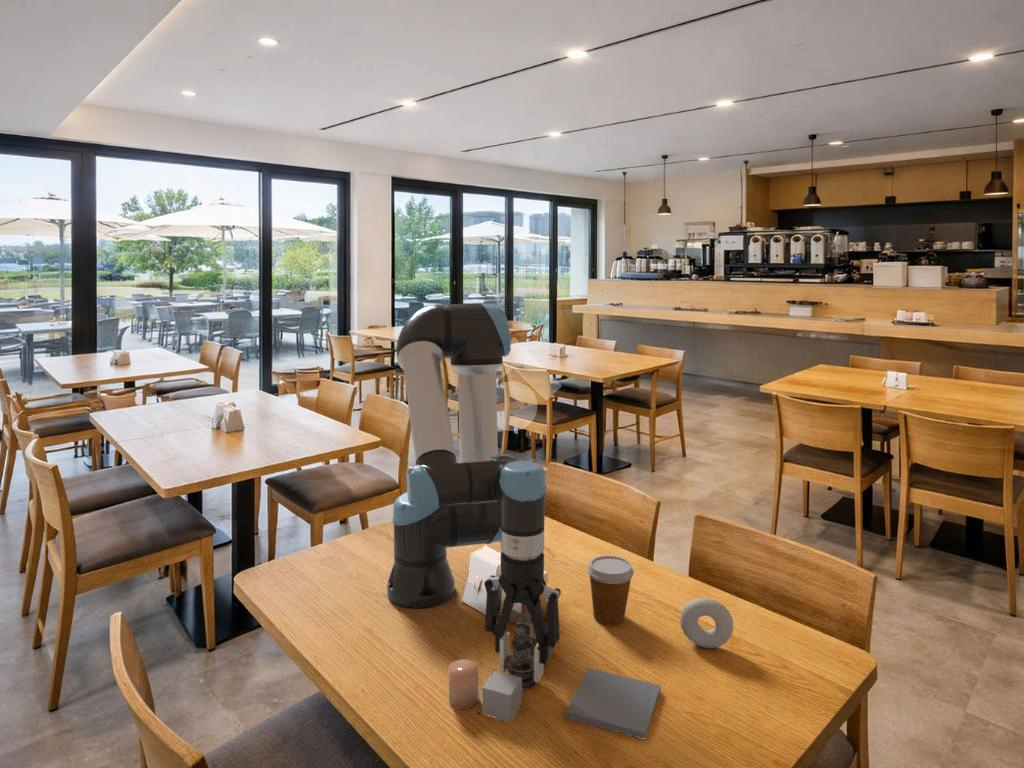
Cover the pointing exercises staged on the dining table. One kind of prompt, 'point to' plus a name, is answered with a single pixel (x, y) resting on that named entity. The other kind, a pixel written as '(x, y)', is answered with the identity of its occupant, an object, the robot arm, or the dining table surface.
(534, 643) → the walnut block
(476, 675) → the peach rounded capsule
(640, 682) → the slate board
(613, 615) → the disposable coffee cup
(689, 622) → the donut
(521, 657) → the salt shaker
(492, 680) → the grey block
